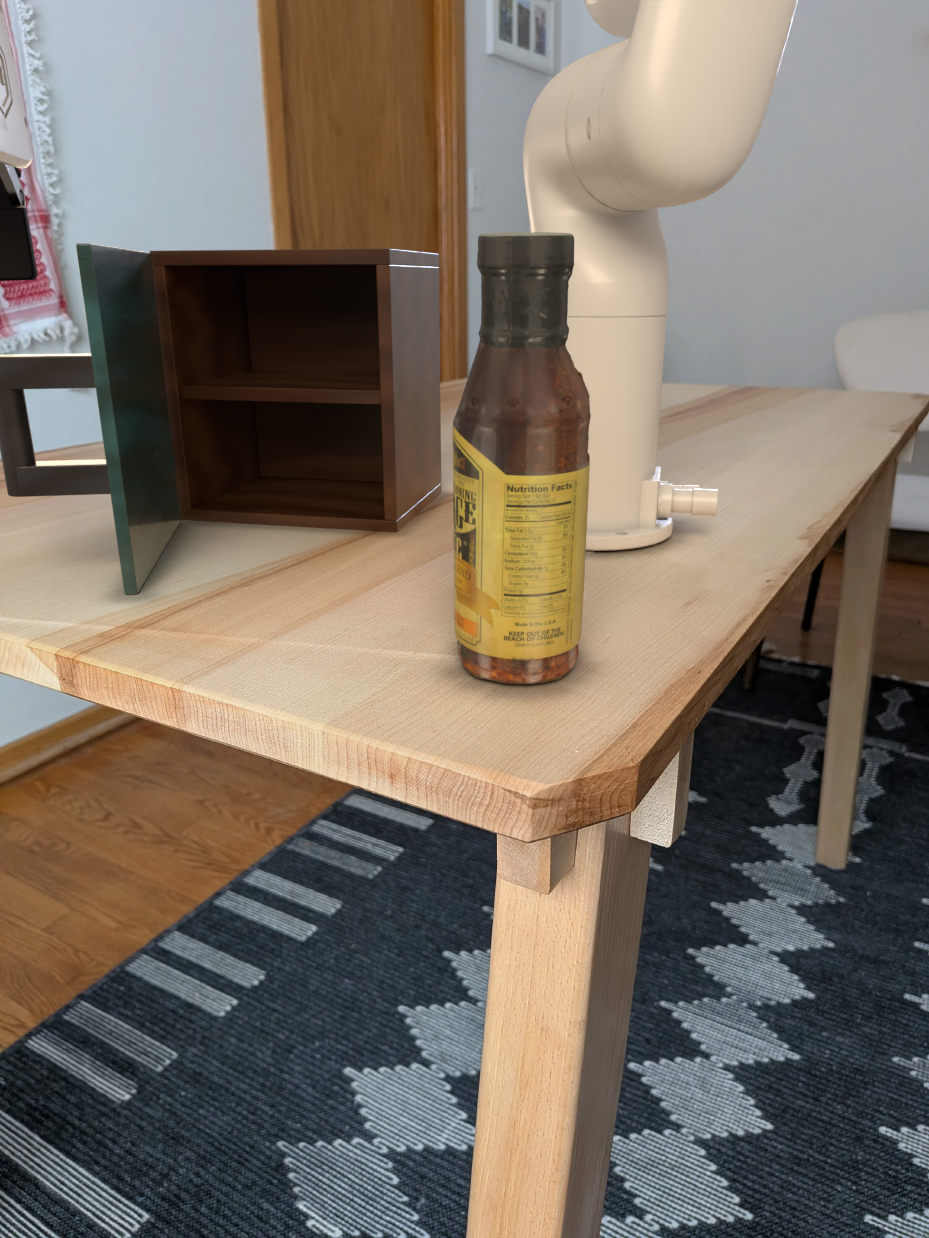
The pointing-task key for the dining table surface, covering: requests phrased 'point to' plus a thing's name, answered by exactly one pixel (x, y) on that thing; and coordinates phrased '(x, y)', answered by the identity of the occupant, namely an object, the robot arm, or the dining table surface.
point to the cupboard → (302, 384)
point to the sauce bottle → (521, 469)
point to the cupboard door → (105, 410)
